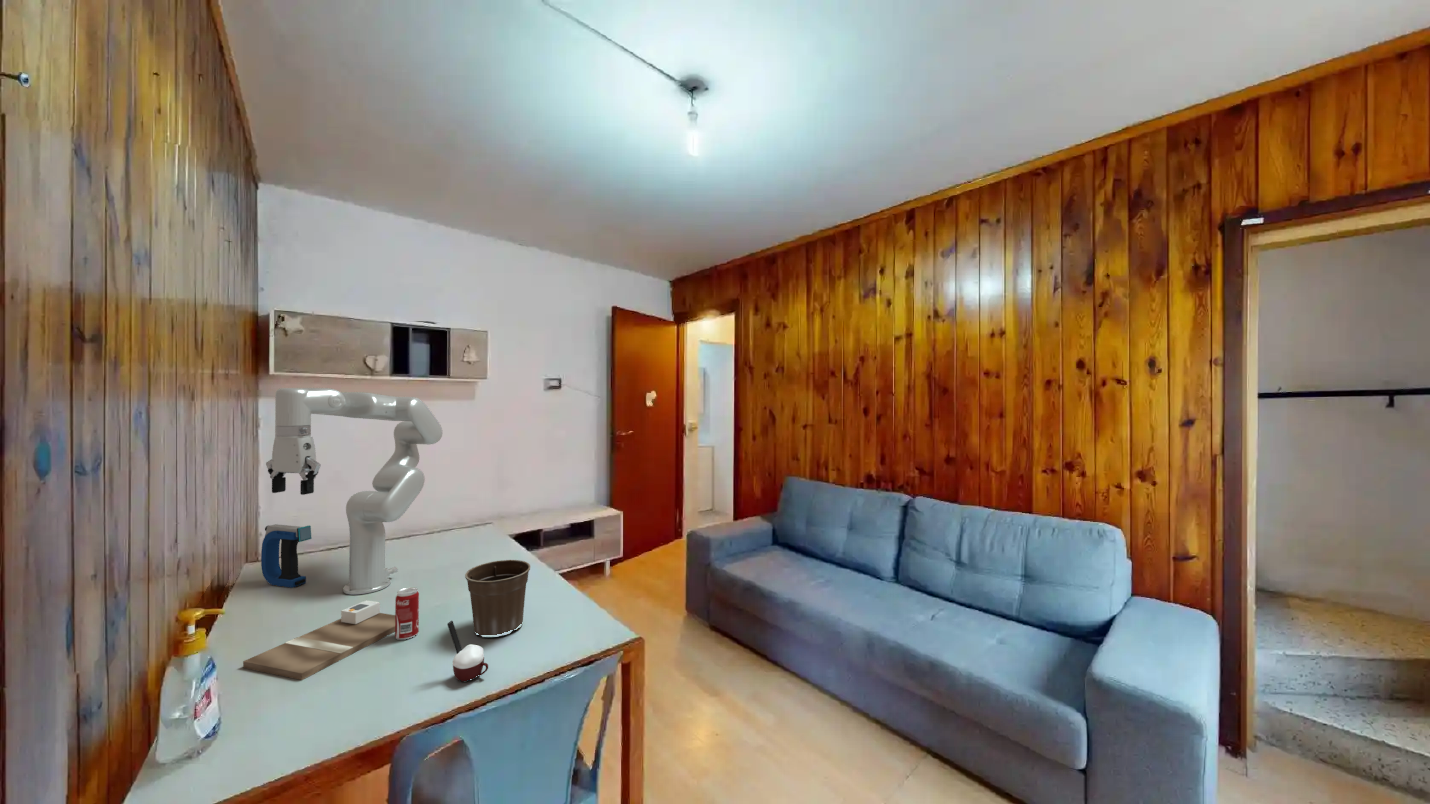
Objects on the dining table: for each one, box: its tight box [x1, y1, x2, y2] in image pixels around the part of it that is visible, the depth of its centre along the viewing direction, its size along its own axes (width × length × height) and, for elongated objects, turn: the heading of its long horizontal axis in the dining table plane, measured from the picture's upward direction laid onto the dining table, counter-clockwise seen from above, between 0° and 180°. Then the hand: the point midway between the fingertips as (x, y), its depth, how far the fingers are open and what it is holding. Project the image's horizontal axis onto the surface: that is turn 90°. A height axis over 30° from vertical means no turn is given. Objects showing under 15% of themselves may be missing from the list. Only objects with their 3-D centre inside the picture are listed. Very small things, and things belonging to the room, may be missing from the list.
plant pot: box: [464, 559, 531, 635], centre depth 130 cm, size 16×16×16 cm
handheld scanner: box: [260, 523, 312, 589], centre depth 159 cm, size 5×16×20 cm, turn 78°
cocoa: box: [447, 620, 489, 682], centre depth 108 cm, size 10×6×12 cm, turn 60°
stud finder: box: [340, 599, 381, 624], centre depth 132 cm, size 7×5×3 cm
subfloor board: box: [242, 612, 395, 681], centre depth 121 cm, size 28×18×2 cm, turn 166°
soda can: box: [394, 587, 420, 641], centre depth 126 cm, size 5×5×12 cm
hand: (292, 493), depth 134 cm, fingers open, 9 cm apart
